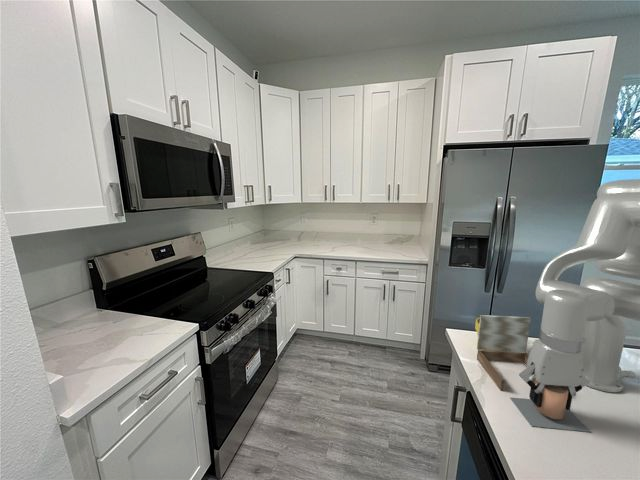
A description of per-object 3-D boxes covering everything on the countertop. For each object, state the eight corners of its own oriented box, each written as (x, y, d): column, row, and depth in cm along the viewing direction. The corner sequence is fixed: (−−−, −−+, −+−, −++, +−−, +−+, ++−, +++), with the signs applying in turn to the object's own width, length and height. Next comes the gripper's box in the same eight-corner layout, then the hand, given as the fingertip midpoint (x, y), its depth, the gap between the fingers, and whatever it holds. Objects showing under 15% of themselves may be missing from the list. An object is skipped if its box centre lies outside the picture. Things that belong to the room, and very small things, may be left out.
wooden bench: (523, 360, 87) (529, 317, 84) (558, 395, 72) (567, 344, 69) (475, 357, 89) (480, 315, 86) (500, 390, 74) (506, 340, 71)
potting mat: (561, 402, 69) (561, 401, 69) (591, 432, 61) (591, 431, 61) (509, 397, 71) (509, 397, 71) (531, 426, 62) (531, 425, 62)
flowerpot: (552, 401, 68) (556, 377, 67) (570, 420, 62) (575, 395, 61) (527, 399, 69) (531, 375, 68) (543, 418, 63) (547, 393, 62)
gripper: (585, 334, 65) (574, 396, 68) (512, 330, 67) (504, 390, 70) (615, 352, 57) (600, 420, 61) (531, 347, 60) (521, 413, 63)
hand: (549, 403), depth 65 cm, fingers closed on flowerpot, 5 cm apart
